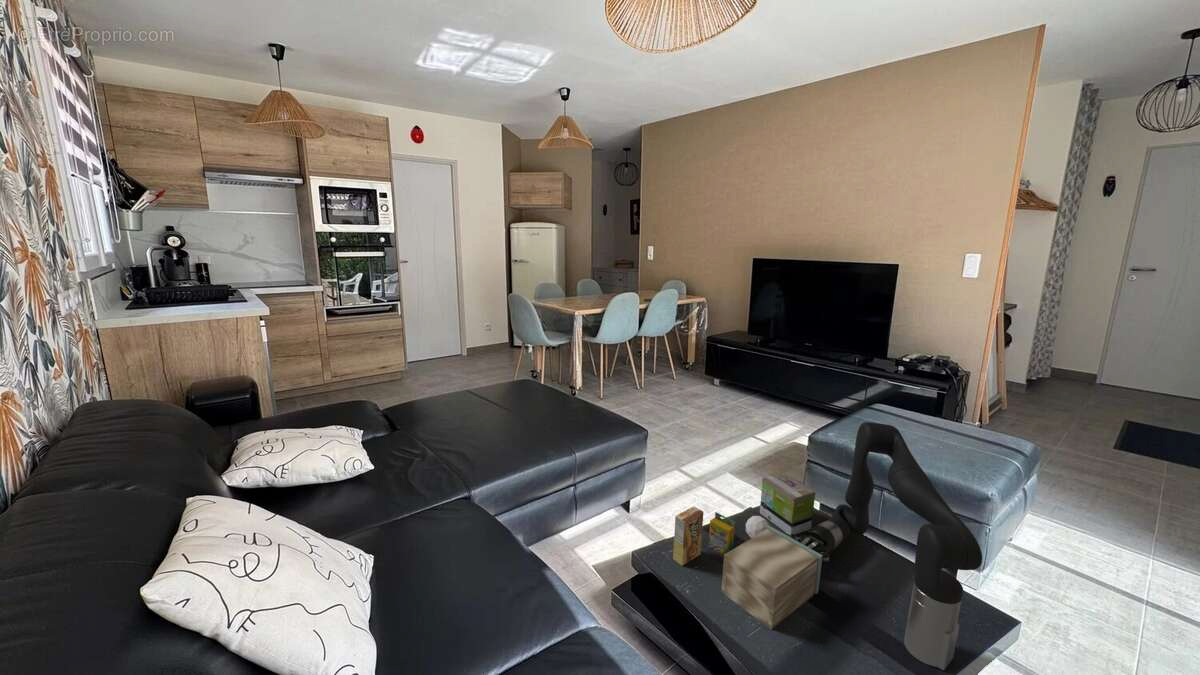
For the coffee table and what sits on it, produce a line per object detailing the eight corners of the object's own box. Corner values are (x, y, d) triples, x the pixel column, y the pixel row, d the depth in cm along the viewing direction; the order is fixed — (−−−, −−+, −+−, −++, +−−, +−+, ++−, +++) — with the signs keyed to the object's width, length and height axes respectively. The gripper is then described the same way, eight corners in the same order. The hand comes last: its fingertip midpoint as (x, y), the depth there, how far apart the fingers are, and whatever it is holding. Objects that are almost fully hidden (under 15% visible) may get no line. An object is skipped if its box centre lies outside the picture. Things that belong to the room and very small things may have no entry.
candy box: (691, 548, 151) (693, 505, 148) (701, 554, 148) (704, 511, 145) (672, 559, 146) (674, 515, 143) (682, 566, 143) (685, 521, 139)
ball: (761, 543, 158) (777, 527, 157) (756, 548, 151) (773, 531, 150) (743, 525, 162) (759, 509, 160) (738, 529, 155) (754, 512, 154)
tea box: (758, 513, 170) (761, 476, 167) (779, 507, 175) (782, 471, 172) (790, 537, 157) (794, 497, 154) (812, 530, 161) (816, 490, 158)
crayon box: (707, 547, 152) (709, 515, 149) (713, 543, 154) (715, 511, 151) (727, 558, 147) (730, 525, 144) (732, 554, 149) (735, 521, 146)
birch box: (813, 595, 132) (818, 557, 129) (771, 629, 120) (775, 588, 118) (764, 563, 144) (767, 528, 142) (721, 592, 133) (724, 554, 130)
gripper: (805, 516, 152) (773, 536, 142) (846, 537, 141) (815, 560, 131) (803, 537, 153) (771, 558, 144) (843, 559, 143) (812, 583, 133)
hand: (792, 559), depth 138 cm, fingers closed
